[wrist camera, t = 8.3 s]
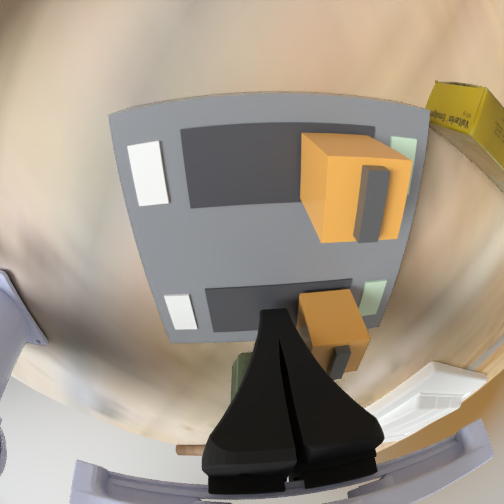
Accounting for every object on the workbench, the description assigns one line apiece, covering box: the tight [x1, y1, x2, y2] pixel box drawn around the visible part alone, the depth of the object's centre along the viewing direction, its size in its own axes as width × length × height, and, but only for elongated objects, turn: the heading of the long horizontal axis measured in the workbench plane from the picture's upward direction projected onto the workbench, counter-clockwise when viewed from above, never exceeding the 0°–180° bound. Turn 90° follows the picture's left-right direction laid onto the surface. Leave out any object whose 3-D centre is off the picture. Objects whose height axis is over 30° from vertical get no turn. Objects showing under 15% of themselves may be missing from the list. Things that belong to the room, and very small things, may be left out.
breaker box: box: [108, 92, 430, 343], centre depth 13 cm, size 12×12×3 cm
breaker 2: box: [296, 289, 370, 380], centre depth 12 cm, size 2×2×3 cm
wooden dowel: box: [176, 445, 206, 456], centre depth 33 cm, size 10×2×2 cm
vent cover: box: [365, 361, 488, 443], centre depth 31 cm, size 23×3×21 cm
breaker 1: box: [300, 133, 413, 243], centre depth 8 cm, size 2×2×3 cm
